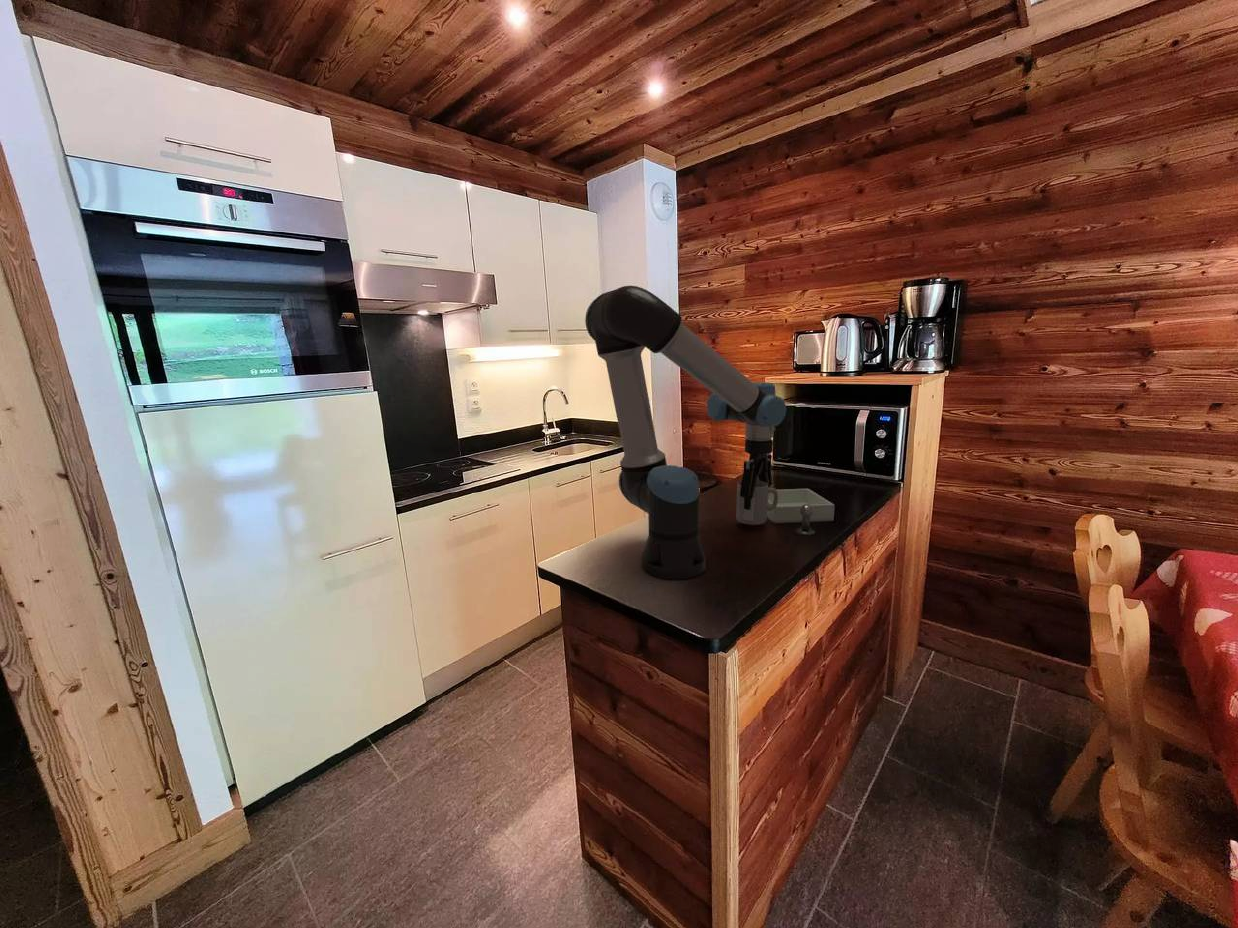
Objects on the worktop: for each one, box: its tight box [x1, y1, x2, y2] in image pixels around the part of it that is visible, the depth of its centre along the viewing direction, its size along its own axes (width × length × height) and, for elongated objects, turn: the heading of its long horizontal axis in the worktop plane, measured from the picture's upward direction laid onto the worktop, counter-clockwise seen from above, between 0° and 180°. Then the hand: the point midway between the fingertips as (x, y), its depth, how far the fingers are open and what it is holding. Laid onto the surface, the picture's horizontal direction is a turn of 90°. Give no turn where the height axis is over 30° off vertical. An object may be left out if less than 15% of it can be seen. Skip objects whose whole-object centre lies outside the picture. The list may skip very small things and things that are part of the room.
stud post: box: [795, 504, 816, 536], centre depth 133 cm, size 5×5×8 cm
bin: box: [767, 488, 836, 524], centre depth 150 cm, size 18×18×5 cm
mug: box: [735, 479, 778, 526], centre depth 138 cm, size 12×8×11 cm
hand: (755, 514), depth 138 cm, fingers closed on mug, 9 cm apart
